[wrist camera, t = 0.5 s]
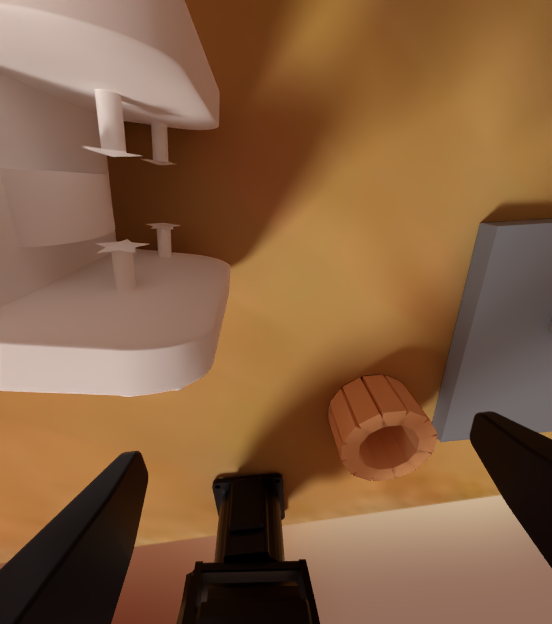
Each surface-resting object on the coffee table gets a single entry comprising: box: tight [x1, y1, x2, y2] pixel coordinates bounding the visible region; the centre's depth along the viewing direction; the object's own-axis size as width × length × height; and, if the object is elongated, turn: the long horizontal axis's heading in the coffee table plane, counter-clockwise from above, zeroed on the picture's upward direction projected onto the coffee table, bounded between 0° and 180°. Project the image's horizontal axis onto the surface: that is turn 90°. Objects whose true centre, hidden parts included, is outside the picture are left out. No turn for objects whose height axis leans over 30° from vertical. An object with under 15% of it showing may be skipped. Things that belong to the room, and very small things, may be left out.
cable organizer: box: [0, 0, 230, 397], centre depth 11 cm, size 15×11×12 cm
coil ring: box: [328, 375, 437, 481], centre depth 23 cm, size 7×7×4 cm
